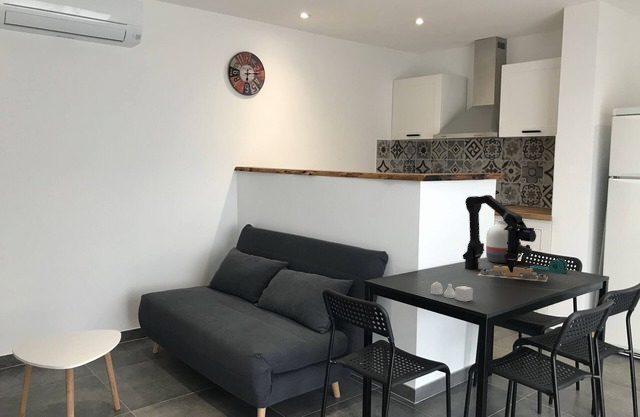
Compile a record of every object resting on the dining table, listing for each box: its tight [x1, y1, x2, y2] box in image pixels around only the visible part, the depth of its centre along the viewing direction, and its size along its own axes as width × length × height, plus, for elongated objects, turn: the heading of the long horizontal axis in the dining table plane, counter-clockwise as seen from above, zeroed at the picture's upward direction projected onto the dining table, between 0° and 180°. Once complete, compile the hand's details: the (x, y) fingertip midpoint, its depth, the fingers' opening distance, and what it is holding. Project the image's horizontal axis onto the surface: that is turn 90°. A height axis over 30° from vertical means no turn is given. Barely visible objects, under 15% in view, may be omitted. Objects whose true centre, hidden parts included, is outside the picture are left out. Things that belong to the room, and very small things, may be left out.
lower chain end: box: [480, 268, 504, 276], centre depth 267 cm, size 10×6×2 cm, turn 63°
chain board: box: [477, 271, 549, 282], centre depth 263 cm, size 32×12×1 cm, turn 63°
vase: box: [485, 220, 508, 264], centre depth 307 cm, size 17×17×24 cm
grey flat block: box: [522, 271, 547, 280], centre depth 258 cm, size 10×6×2 cm, turn 63°
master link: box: [492, 264, 533, 277], centre depth 262 cm, size 18×4×5 cm, turn 64°
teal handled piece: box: [529, 258, 569, 275], centre depth 277 cm, size 18×7×8 cm, turn 42°
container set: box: [430, 281, 474, 302], centre depth 225 cm, size 20×5×6 cm, turn 35°
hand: (512, 270), depth 262 cm, fingers open, 9 cm apart
